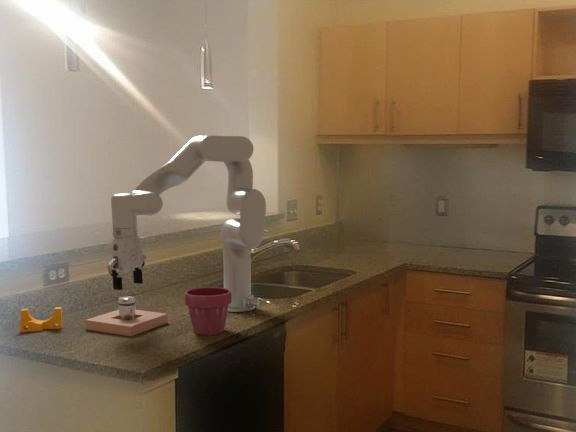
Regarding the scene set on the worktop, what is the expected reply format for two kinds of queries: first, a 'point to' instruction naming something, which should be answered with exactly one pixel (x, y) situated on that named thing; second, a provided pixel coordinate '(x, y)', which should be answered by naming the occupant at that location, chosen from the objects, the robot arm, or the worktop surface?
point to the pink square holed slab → (126, 322)
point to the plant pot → (208, 309)
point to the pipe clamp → (40, 321)
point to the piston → (127, 308)
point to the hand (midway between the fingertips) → (128, 286)
